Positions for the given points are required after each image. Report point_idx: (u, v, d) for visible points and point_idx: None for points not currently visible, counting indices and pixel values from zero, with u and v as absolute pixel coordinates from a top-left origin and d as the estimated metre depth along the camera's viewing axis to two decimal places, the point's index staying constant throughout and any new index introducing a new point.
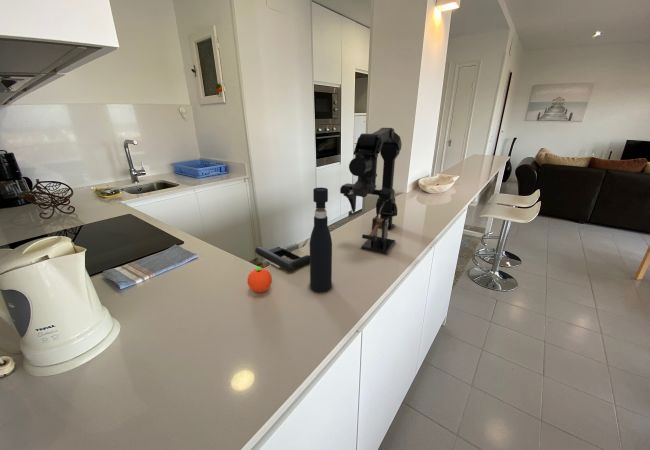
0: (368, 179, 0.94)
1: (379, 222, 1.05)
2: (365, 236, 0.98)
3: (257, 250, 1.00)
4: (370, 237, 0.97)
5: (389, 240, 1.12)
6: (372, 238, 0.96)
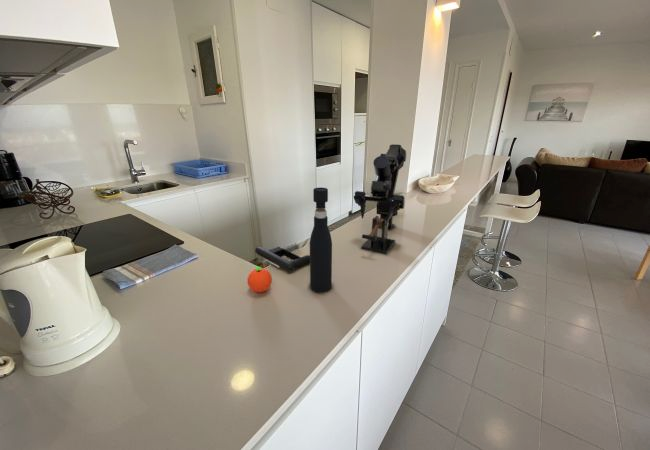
0: None
1: (379, 222, 1.05)
2: (365, 236, 0.98)
3: (257, 250, 1.00)
4: (370, 237, 0.97)
5: (389, 240, 1.12)
6: (372, 238, 0.96)
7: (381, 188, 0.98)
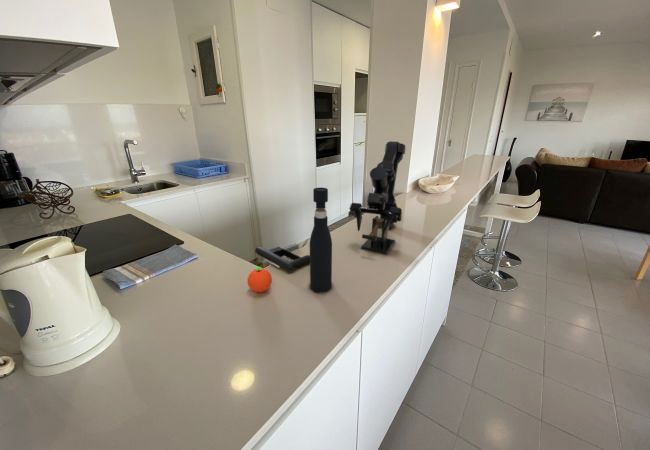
0: None
1: (379, 222, 1.05)
2: (365, 236, 0.98)
3: (257, 250, 1.00)
4: (370, 237, 0.97)
5: (389, 240, 1.12)
6: (372, 238, 0.96)
7: (378, 200, 0.95)
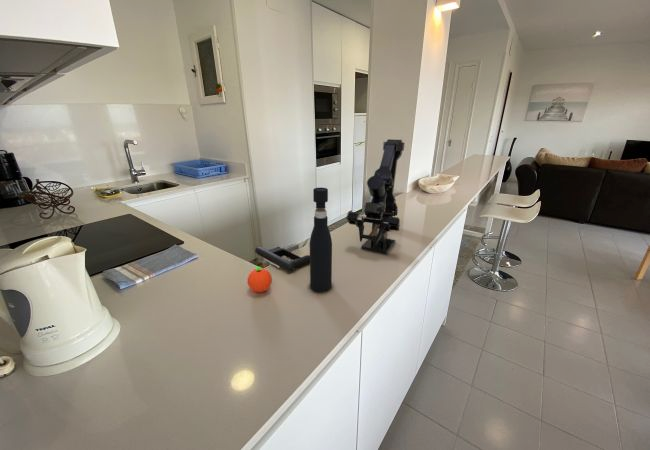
0: None
1: None
2: (365, 236, 0.98)
3: (257, 250, 1.00)
4: (370, 237, 0.97)
5: (389, 240, 1.12)
6: (372, 238, 0.96)
7: (375, 210, 0.93)
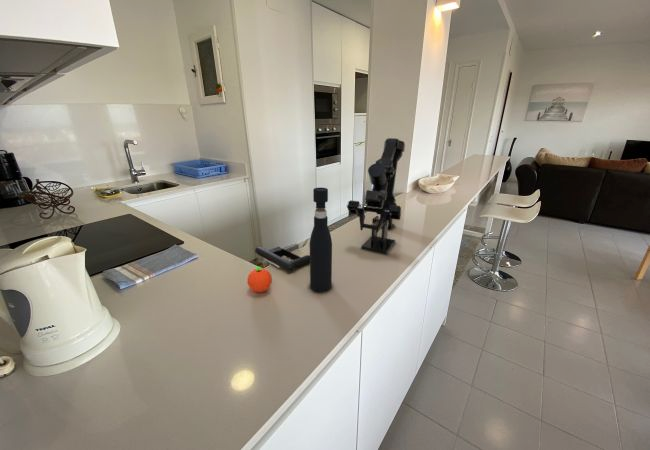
0: None
1: None
2: (366, 225, 0.96)
3: (257, 250, 1.00)
4: (371, 226, 0.95)
5: (389, 240, 1.12)
6: (373, 226, 0.95)
7: (376, 198, 0.91)
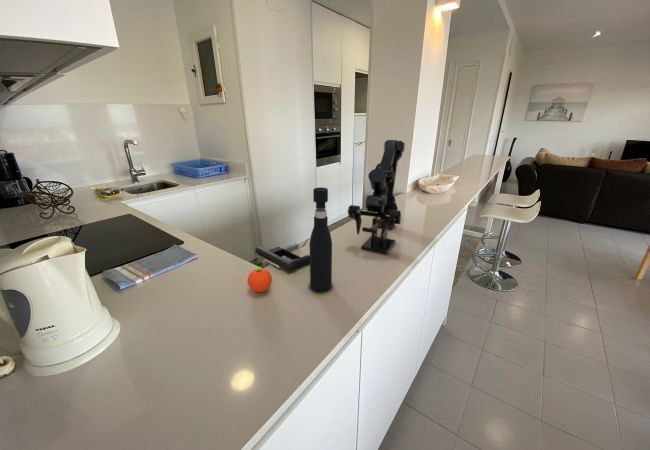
0: None
1: (379, 221, 1.05)
2: (365, 228, 0.97)
3: (257, 250, 1.00)
4: (371, 229, 0.96)
5: (389, 240, 1.12)
6: (373, 230, 0.95)
7: (376, 203, 0.93)
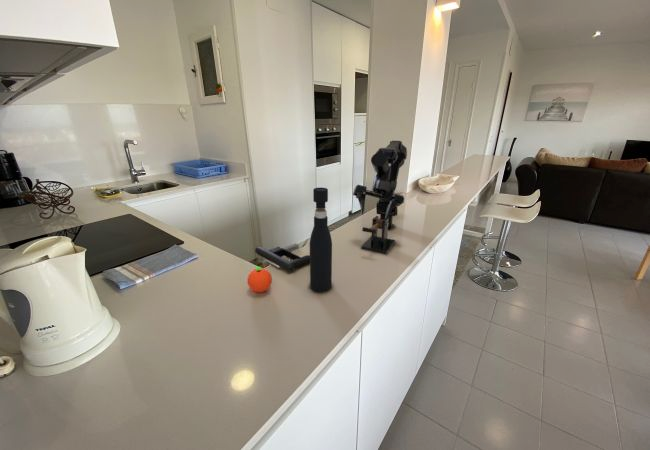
0: (386, 181, 1.03)
1: (379, 221, 1.05)
2: (365, 228, 0.97)
3: (257, 250, 1.00)
4: (371, 229, 0.96)
5: (389, 240, 1.12)
6: (373, 230, 0.95)
7: (388, 189, 0.98)
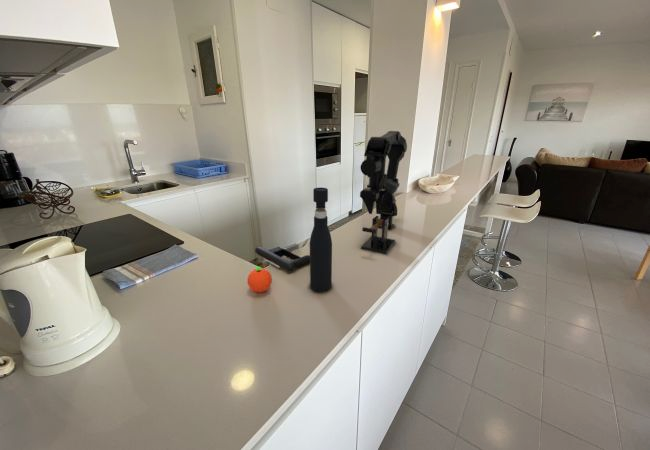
0: (386, 177, 1.06)
1: (379, 221, 1.05)
2: (365, 228, 0.97)
3: (257, 250, 1.00)
4: (371, 229, 0.96)
5: (389, 240, 1.12)
6: (373, 230, 0.95)
7: (396, 190, 1.05)
